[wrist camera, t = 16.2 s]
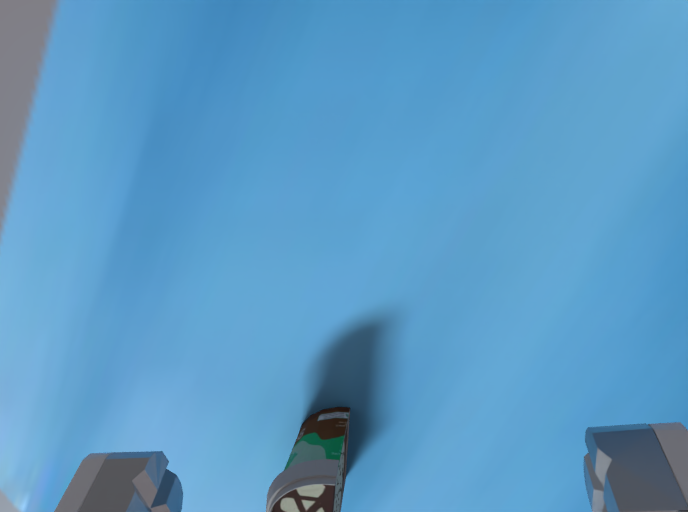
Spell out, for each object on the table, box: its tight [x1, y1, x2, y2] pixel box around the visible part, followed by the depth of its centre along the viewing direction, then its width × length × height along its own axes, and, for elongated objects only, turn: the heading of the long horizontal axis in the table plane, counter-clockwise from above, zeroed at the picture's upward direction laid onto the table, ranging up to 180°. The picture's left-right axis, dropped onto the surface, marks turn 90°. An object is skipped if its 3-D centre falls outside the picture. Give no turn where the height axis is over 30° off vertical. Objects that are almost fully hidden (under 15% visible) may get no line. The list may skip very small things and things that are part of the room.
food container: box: [266, 407, 350, 512], centre depth 51 cm, size 12×6×10 cm, turn 177°
